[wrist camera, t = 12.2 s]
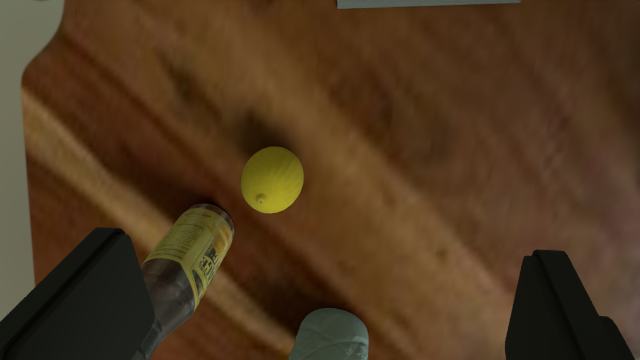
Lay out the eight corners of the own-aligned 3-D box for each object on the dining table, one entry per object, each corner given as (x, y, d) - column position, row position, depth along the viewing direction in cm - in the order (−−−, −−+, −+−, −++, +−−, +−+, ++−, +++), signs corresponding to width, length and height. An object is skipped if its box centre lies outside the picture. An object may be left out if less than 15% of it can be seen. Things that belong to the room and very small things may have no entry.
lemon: (250, 135, 43) (222, 174, 36) (306, 132, 42) (288, 171, 35) (261, 184, 46) (237, 229, 39) (313, 182, 45) (298, 228, 38)
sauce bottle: (229, 253, 51) (144, 416, 34) (178, 233, 51) (67, 387, 34) (244, 210, 48) (158, 367, 31) (190, 188, 47) (72, 334, 30)
